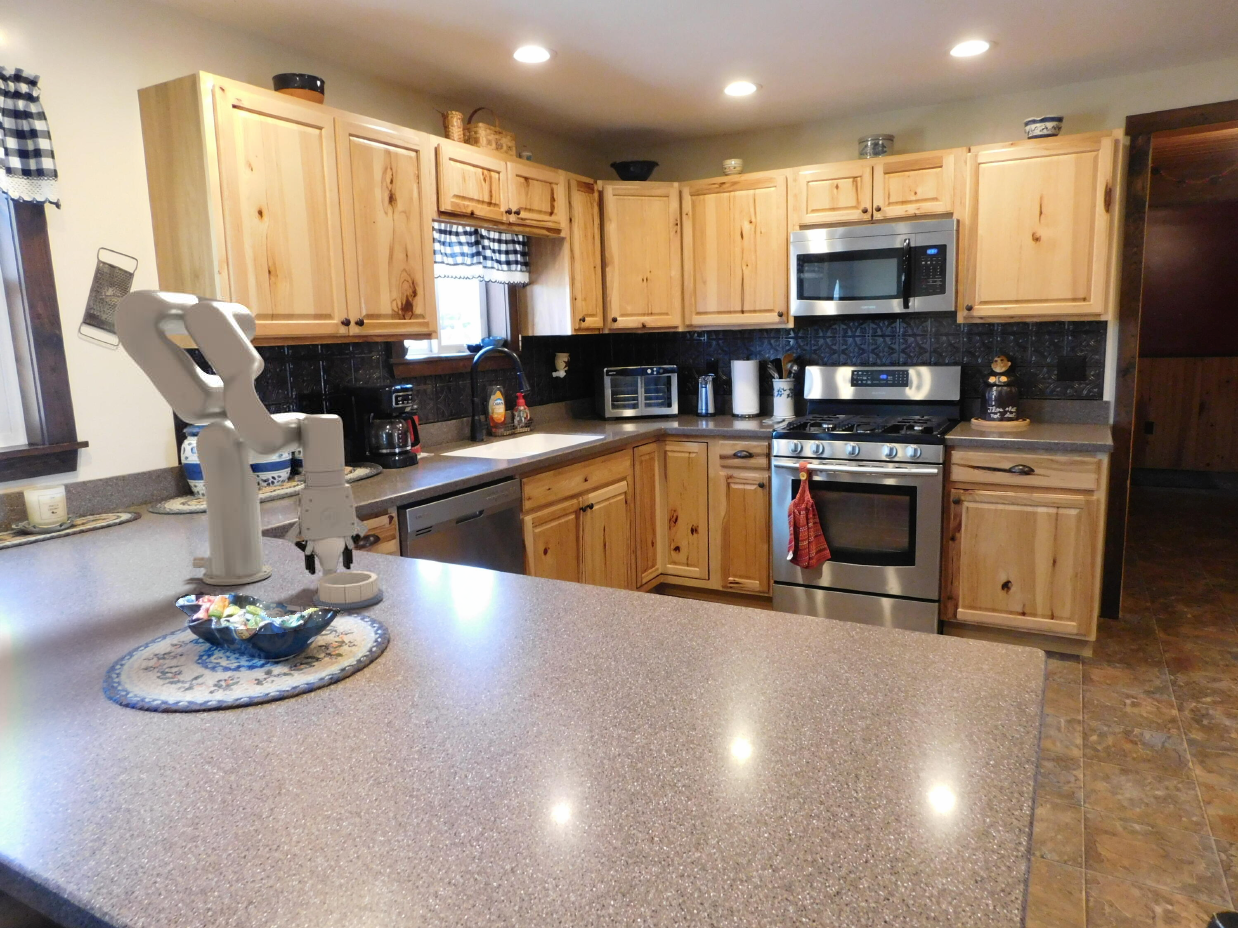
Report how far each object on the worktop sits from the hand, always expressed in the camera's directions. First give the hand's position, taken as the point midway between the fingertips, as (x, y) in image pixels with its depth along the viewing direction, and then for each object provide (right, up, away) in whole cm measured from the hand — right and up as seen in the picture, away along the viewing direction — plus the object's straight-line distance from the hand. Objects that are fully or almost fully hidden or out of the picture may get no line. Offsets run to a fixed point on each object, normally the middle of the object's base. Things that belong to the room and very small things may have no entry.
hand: (329, 569), depth 158 cm
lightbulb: (0, -3, 0) cm, 3 cm away
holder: (+7, -4, -11) cm, 14 cm away
